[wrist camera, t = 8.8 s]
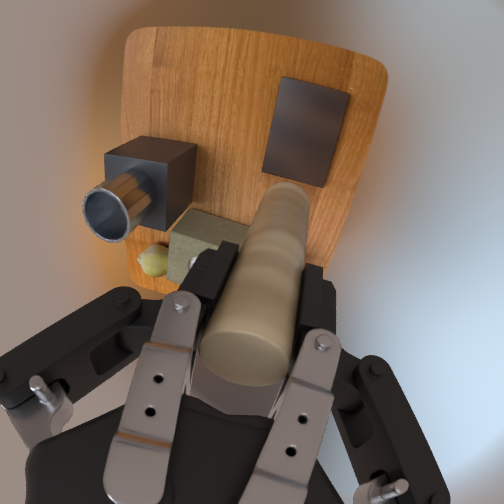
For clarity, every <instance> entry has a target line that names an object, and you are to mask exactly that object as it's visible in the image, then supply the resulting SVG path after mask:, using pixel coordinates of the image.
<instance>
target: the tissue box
mask: <svg viewBox="0 0 504 504" xmlns="http://www.w3.org/2000/svg"><path fill="white" fill-rule="evenodd" d="M248 229H249V226H246V225H243V224H239V223H236V222H233V221H230V220H227V219H224V218H221V217H217V216H214V215H211V214H208V213H205V212H202V211H198V210H195V209H192V208H191V209H189V210H188V211H187V213H186V214H185V215H184V216H183V217H182V219H181V220H180V221H179V222H178V223H177V224H176V226H175V227H174V228H173V229H172V230H171V232H170V241H169V251H168V263H167V275H166V279H167V280H169V281H172V282H175V283H177V284H180V285H181V283H182V282H183V280H184V278H185V277H186V275H187V273H188V272H189V270H190V269H191V267H192V265H193V263H194V262H195V260H196V258H197V257H198V255H199V253H201V252H203V251H204V250H206V249H207V248H210V249H214V250H217V249H218V248H219V246H220V244H221V242H222V240H225V241H228V242H232V243H236V244H239V250H240V248H241V245H242V243H243V241H244V238H245V236H246V234H247V232H248ZM238 252H239V251H238Z"/></svg>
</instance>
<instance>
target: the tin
mask: <svg viewBox="0 0 504 504" xmlns="http://www.w3.org/2000/svg"><path fill="white" fill-rule="evenodd" d="M156 202H157V193H156V188H155V185H154V184H153V182H152V180H151V179H150V178H149V176H147V175H146V174H145V173H144V172H143V171H141V170H138V169H135V168H124V169H122V170H121V171H119V172H118V173H116V174H114V175H113V176H111V177H110V178H108V179H107V180H105V181H104V182H102V183H101V184H99V185H98V186H96V187H95V188H93V189H92V190H91V191H90V192H88V193H87V194H86V195H85V198H84V200H83V215H84V218H85V221H86V223H87V225H88V226H89V228H90V229H91V231H92V232H93V233H94V234H95V235H97V236H98V237H99V238H100V239H103V240H105V241H107V242H110V243H118V242H120V241H122V240H124V239H125V238H126V237H127V236H128V235H129V234H130V233H131V232H132V231H133V230H134V229H135V228H136V227H137V226H138V225H139V224H140V223H141V222H142V221H143V220H144V219H145V218H146V217H147V216H148V215H149V214H150V213H151V212H152V211H153V210H154V208H155V207H156Z"/></svg>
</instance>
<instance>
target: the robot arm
mask: <svg viewBox="0 0 504 504" xmlns="http://www.w3.org/2000/svg"><path fill="white" fill-rule="evenodd" d="M238 251H239V244H236V243H232V242H228V241H225V240H222V242H221V244H220V246H219V248H218V249H217V250H214V249H210V248H207V249H206V250H204V251H203V252H201V253H199V255H198V257H197V258H196V260H195V262H194V263H193V265H192V267H191V269H190V270H189V272H188V273H187V275H186V277H185V278H184V280H183V282H182V283H181V285H180V287H179V288H178V290H177V291H174V292H171V293H169V294H168V295H167V296H166V297H165V298H164V299H162V300H147V299H141V296H140V294H139V292H138V291H137V290H135V289H133V288H131V287H125V286H123V287H117V288H114V289H112V290H110V291H109V292H107V293H105V294H104V295H102V296H100V297H98V298H96V299H95V300H93V301H91V302H90V303H88V304H86V305H84V306H83V307H81V308H79V309H78V310H76V311H75V312H73V313H71V314H69V315H68V316H66V317H64V318H63V319H61V320H59V321H58V322H56V323H54V324H53V325H51V326H49V327H48V328H46V329H44V330H43V331H41V332H39V333H38V334H36V335H35V336H33V337H31V338H30V339H28V340H27V341H25V342H23V343H22V344H20V345H18V346H17V347H15V348H14V349H12V350H11V351H9V352H7V353H6V354H4V355H3V356H1V357H0V406H1V407H2V408H3V409H4V410H5V411H6V412H7V414H8V416H9V418H10V419H11V421H12V423H13V425H14V427H15V429H16V430H17V432H18V434H19V435H20V437H21V439H22V440H23V442H24V444H25V445H26V446H27V448H28V450H29V451H30V454H29V456H28V458H27V461H26V467H25V475H26V500H25V504H344V502H343V501H342V499H341V498H340V496H339V494H338V493H337V491H336V489H335V488H334V486H333V485H332V483H331V481H330V480H329V478H328V476H327V475H326V473H325V472H324V470H323V468H322V467H321V465H320V464H319V461H318V460H317V455H318V452H319V449H320V446H321V442H322V439H323V436H324V432H325V429H326V426H327V421H328V419H329V415H330V411H332V414H333V416H334V419H335V422H336V424H337V427H338V430H339V432H340V435H341V437H342V440H343V443H344V445H345V448H346V451H347V453H348V456H349V459H350V461H351V464H352V467H353V469H354V472H355V475H356V477H357V480H358V483H359V487H358V488H357V489H356V491H355V493H354V498H353V504H450V494H449V491H448V488H447V486H446V484H445V481H444V479H443V477H442V474H441V472H440V469H439V467H438V465H437V462H436V460H435V458H434V456H433V453H432V451H431V449H430V447H429V445H428V442H427V440H426V438H425V436H424V434H423V432H422V429H421V427H420V425H419V423H418V421H417V419H416V417H415V415H414V413H413V411H412V409H411V407H410V405H409V403H408V401H407V399H406V397H405V395H404V393H403V391H402V389H401V387H400V385H399V383H398V381H397V379H396V377H395V375H394V373H393V371H392V369H391V368H390V366H389V364H388V363H387V362H386V361H385V360H384V359H382V358H380V357H378V356H375V355H368V356H365V357H364V358H362V359H361V360H360V359H358V358H356V357H355V356H353V355H351V354H349V353H347V352H346V351H345V350H344V349H342V348H341V343H340V340H339V339H338V338H337V336H336V290H335V288H334V286H333V284H332V282H331V281H327V280H323V267H320V266H316V265H313V264H309V263H306V265H305V267H304V270H303V275H302V283H301V291H300V299H299V306H298V314H297V321H296V328H295V335H294V343H293V350H292V357H291V363H290V369H289V371H288V373H287V374H286V376H285V378H284V380H283V383H282V385H281V388H280V390H279V392H278V395H277V397H276V400H275V402H274V405H273V407H272V409H271V412H270V414H269V416H268V418H267V417H262V416H254V415H253V416H252V415H228V414H224V413H222V412H221V411H219V410H217V409H215V408H213V407H212V406H210V405H208V404H207V403H204V402H203V401H201V400H200V399H198V398H195V397H192V396H189V395H190V388H191V382H192V376H193V371H194V365H195V359H196V355H197V348H198V346H199V342H200V340H201V338H202V335H203V333H204V331H205V328H206V326H207V324H208V321H209V319H210V317H211V314H212V313H213V310H214V308H215V306H216V303H217V301H218V299H219V296H220V294H221V292H222V289H223V287H224V285H225V282H226V280H227V278H228V275H229V273H230V271H231V269H232V266H233V264H234V262H235V259H236V257H237V255H238ZM139 356H140V357H139ZM138 357H139V360H138V363H137V367H136V369H135V372H134V376H133V379H132V382H131V386H130V389H129V392H128V396H127V399H126V403H125V404H124V405H122V406H120V407H118V408H116V409H114V410H112V411H109V412H107V413H105V414H103V415H101V416H99V417H97V418H94V419H92V420H90V421H88V422H85V423H83V424H81V425H79V426H76V427H74V428H72V429H69V430H67V431H65V432H62V433H61V431H62V428H63V426H64V425H65V424H66V423H67V422H68V421H69V420H70V418H71V416H72V414H73V404H74V403H75V402H77V401H78V400H80V399H81V398H82V397H84V396H85V395H87V394H88V393H89V392H91V391H92V390H93V389H95V388H96V387H98V386H99V385H101V384H102V383H103V382H105V381H106V380H107V379H109V378H110V377H112V376H113V375H114V374H116V373H117V372H118V371H120V370H121V369H123V368H124V367H125V366H127V365H128V364H130V363H131V362H132V361H134V360H135V359H136V358H138Z"/></svg>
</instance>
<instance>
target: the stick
mask: <svg viewBox="0 0 504 504" xmlns="http://www.w3.org/2000/svg"><path fill="white" fill-rule="evenodd" d="M309 209H310V201H309V198H308V195H307V193H306V192H305V191H304V190H303V189H302V188H301V187H300V186H298V185H296V184H294V183H291V182H279V183H276V184H273V185H272V186H270V187H269V188H268V189H267V190H266V192H265V193H264V195H263V198H262V200H261V202H260V204H259V207H258V209H257V211H256V213H255V216H254V218H253V220H252V223H251V225H250V227H249V229H248V232H247V234H246V236H245V238H244V241H243V243H242V245H241V248H240V250H239V252H238V255H237V257H236V259H235V262H234V264H233V266H232V269H231V271H230V273H229V275H228V278H227V280H226V282H225V285H224V287H223V289H222V292H221V294H220V296H219V299H218V301H217V303H216V306H215V308H214V310H213V313H212V314H211V317H210V319H209V321H208V324H207V326H206V328H205V331H204V333H203V335H202V338H201V340H200V342H199V346H198V351H199V356H200V358H201V360H202V361H203V363H204V364H205V365H206V367H208V368H209V369H210V370H211V371H212V372H213V373H215V374H216V375H218V376H220V377H222V378H224V379H226V380H228V381H231V382H234V383H237V384H241V385H247V386H265V385H270V384H274V383H276V382H278V381H280V380H281V379H283V378H284V377H285V376H286V374H287V373H288V371H289V369H290V363H291V357H292V350H293V343H294V335H295V328H296V321H297V314H298V306H299V299H300V291H301V283H302V275H303V267H304V259H305V250H306V240H307V230H308V220H309Z"/></svg>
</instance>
